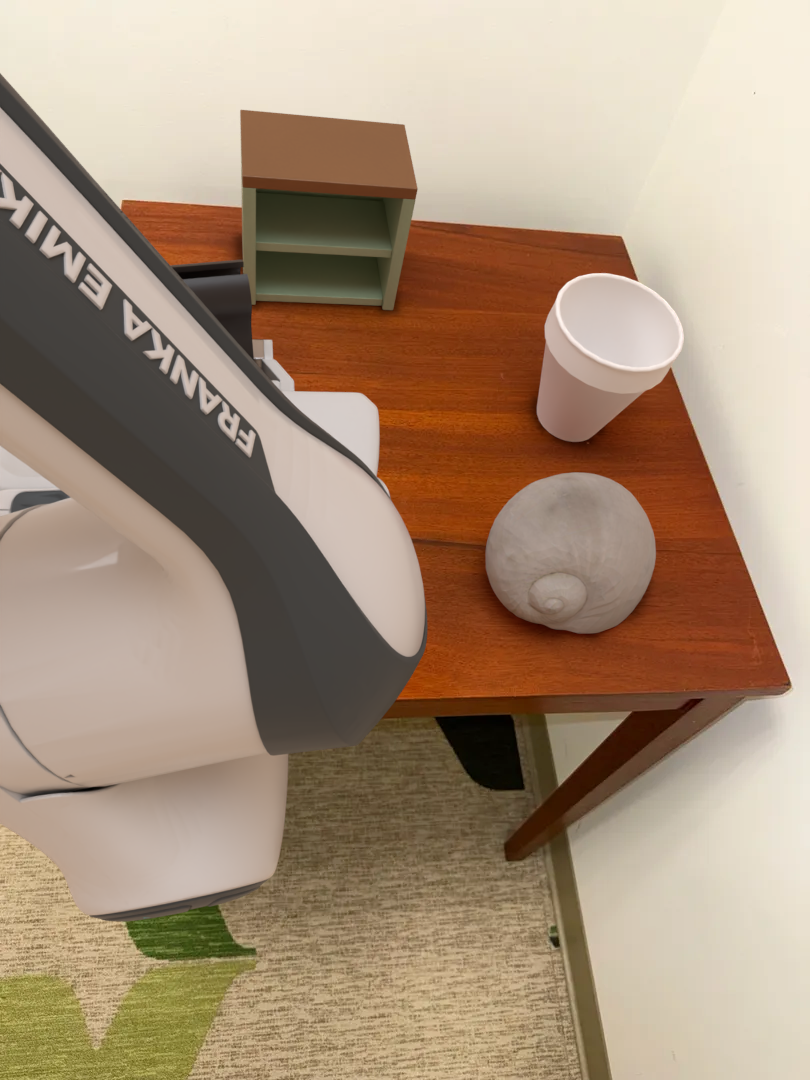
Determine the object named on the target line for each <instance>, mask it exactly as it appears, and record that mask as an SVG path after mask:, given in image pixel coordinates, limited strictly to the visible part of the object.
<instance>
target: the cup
mask: <svg viewBox="0 0 810 1080" xmlns="http://www.w3.org/2000/svg"><path fill="white" fill-rule="evenodd" d="M681 322H682V321H681V320H680V318H679V316H678V314H677V312H676V311H675V310H674V308H673V307H672V306H671V305H670V303H669V302H668V301H667V300H666V299H665V298H664V297H662V296H661V295H660V294H659V293H658V292H656V291H655V290H653V289H652V288H650V287H648V286H646V285H645V284H643V283H641V282H640V281H638V280H635V279H631V278H630V277H627V276H624V275H618V274H613V273H608V272H607V273H606V272H601V273H599V272H594V273H587V274H583V275H579V276H577V277H574V278H573V279H571V280H569V281H567V282H566V283H565V284H564V285H563V286H562V287H561V288H560V290H559V291H558V292H557V296H556V298H555V301H554V303H553V305H552V307H551V308H550V311H549V312H548V314H547V317H546V319H545V323H544V339H545V344H544V352H543V359H542V366H541V374H540V379H539V386H538V387H539V388H538V395H537V402H536V415H537V418H538V422H539V423H540V425H541V426H542V427H543V429H545V430H546V431H547V432H548V433H549V434H550V435H552V436H554V437H555V438H557V439H559V440H562V441H565V442H570V443H571V442H572V443H579V442H581V443H582V442H584V441H588V440H590V439H591V438H592V437H594V436H595V435H596V434H597V433H598V432H600V430H602V429H603V428H604V427H606V425H608V423H610V422H611V421H612V420H614V419H615V418H616V417H617V416H618V415H619V414H620V413H621V412H622V411H624V410H625V409H626V408H627V407H628V406H629V405H631V404H632V403H633V402H634V401H635V400H636V399H638V398H639V397H640V396H642V395H643V394H644V393H645V392H646V391H648V390H651V389H653V388H654V387H656V386H657V385H659V384H660V383H662V382H663V380H664V378H665V377H666V376H667V374H668V372H670V369H671V367H672V366H673V364H674V362H675V361H676V360H677V359H678V357H679V355H680V354H681V353H682V351H683V347H684V341H685V335H684V334H685V333H684V328H683V324H682V323H681Z"/></svg>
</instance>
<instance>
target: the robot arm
mask: <svg viewBox="0 0 810 1080" xmlns="http://www.w3.org/2000/svg"><path fill="white" fill-rule="evenodd" d="M170 265H171V264H170V263H169V262H168V261H167V260H166V259H165V258H164V256H162V254H161V253H160V252H159V251H158V250H157V249H156V247H155V246H153V244H152V243H151V241H149V239H148V238H146V236H145V235H144V234H143V233H142V231H141V230H140V229H139V228H138V227H137V226H136V224H135V223H133V221H132V220H131V219H130V218H129V217H128V215H126V214H125V213H124V211H123V210H122V209H121V208H120V207H119V206H118V204H117V203H115V201H114V200H113V199H112V198H111V196H110V195H109V194H108V193H107V192H106V191H105V190H104V189H103V188H102V186H100V184H99V183H98V182H97V181H96V180H95V179H94V177H93V176H92V175H91V174H90V173H89V172H88V171H87V169H86V168H85V167H84V166H83V165H82V164H81V162H80V161H78V159H77V158H76V157H75V155H73V153H72V152H71V151H70V150H69V149H68V148H67V146H66V145H65V144H64V143H63V142H62V141H61V140H60V138H58V136H57V135H56V134H55V133H54V131H53V130H52V129H51V128H50V127H49V126H48V124H47V123H45V121H44V120H43V119H42V118H41V117H40V115H39V114H38V113H36V111H35V110H34V109H33V108H32V106H30V104H29V103H28V102H27V101H26V100H25V99H24V98H23V97H22V96H21V94H20V93H19V92H18V91H17V90H16V89H15V88H14V87H13V86H12V84H11V83H10V82H9V81H8V80H7V79H6V78H5V77H4V75H3V74H2V73H1V72H0V825H1V826H2V827H4V828H6V829H8V830H9V831H11V832H13V833H14V834H16V835H18V836H19V837H20V838H22V839H23V840H25V841H26V842H28V843H29V844H30V845H31V846H33V847H34V848H36V849H37V850H39V851H40V852H41V853H42V854H44V855H45V856H46V857H47V858H48V859H49V860H50V861H51V862H53V863H54V864H55V866H56V867H57V868H58V869H59V870H60V873H61V874H62V876H63V878H64V880H65V882H66V885H67V888H68V890H69V893H70V896H71V898H72V900H73V902H74V904H75V906H76V907H77V909H78V910H79V911H80V912H81V913H83V914H85V916H88V917H90V918H93V919H99V920H102V921H106V922H122V923H123V922H124V923H125V922H134V921H136V922H137V921H142V920H150V919H155V918H156V919H157V918H162V917H166V916H173V915H179V914H183V913H187V912H189V911H191V910H195V909H199V908H200V909H201V908H204V907H209V908H210V907H215V906H218V905H223V904H225V903H229V902H232V901H236V900H238V899H241V898H243V897H246V896H248V895H250V894H251V893H253V892H255V891H257V890H259V889H260V888H261V886H262V885H263V884H265V883H266V882H267V881H269V880H270V878H272V877H273V875H274V874H275V872H276V871H277V867H278V863H279V859H280V856H281V855H280V854H281V851H282V850H281V849H282V843H283V837H284V829H285V822H286V812H287V811H286V810H287V798H288V783H289V755H290V754H298V753H299V754H300V753H306V752H307V753H308V752H313V751H314V752H315V751H322V750H332V749H340V748H341V749H342V748H348V747H349V748H350V747H356V746H359V744H361V743H362V741H364V739H365V738H366V737H367V736H368V735H369V734H370V732H372V730H373V729H374V728H375V726H377V724H379V722H380V721H381V720H382V719H383V717H384V716H385V715H386V714H387V712H388V711H389V709H391V707H392V706H393V705H394V704H395V702H396V700H397V699H398V698H399V696H400V695H401V693H402V692H403V691H404V689H405V687H406V686H407V684H408V683H409V681H410V679H411V678H412V676H413V675H414V673H415V671H416V669H417V667H418V665H419V664H420V661H421V660H422V658H423V656H424V655H425V654H424V653H425V651H426V647H427V641H428V609H427V603H426V597H425V589H424V583H423V578H422V577H423V576H422V571H421V567H420V563H419V559H418V556H417V552H416V549H415V546H414V543H413V540H412V538H411V535H410V533H409V532H410V531H409V530H408V528H407V526H406V523H405V522H404V520H403V518H402V516H401V514H400V512H399V511H398V509H397V507H396V506H395V504H394V502H393V501H392V498H391V493H390V490H389V489H388V487H387V485H386V484H385V482H384V481H383V480H382V479H381V478H380V477H378V470H379V463H380V462H379V460H380V446H381V445H380V442H381V441H380V440H381V435H380V433H381V432H380V431H381V430H380V415H379V409H378V407H377V405H376V404H375V403H374V402H372V400H371V399H370V398H368V397H367V396H366V395H365V394H364V393H362V392H355V391H354V392H353V391H346V392H345V391H309V390H308V391H305V390H304V391H301V390H295V380H294V379H293V378H292V376H290V374H289V373H288V372H287V371H286V369H284V367H283V366H282V365H281V364H280V363H279V362H278V361H277V360H276V359H274V349H273V348H274V347H273V345H274V344H273V339H260V338H259V339H257V338H256V339H255V338H252V343H253V355H254V360H253V359H252V358H251V357H250V356H249V355H248V354H247V353H246V351H245V350H244V349H243V348H242V347H241V346H240V345H239V344H238V343H237V342H236V340H235V339H234V338H233V337H232V336H231V335H230V334H229V332H228V331H227V330H226V329H225V328H224V327H223V326H222V324H221V323H220V322H219V321H218V320H217V319H216V318H215V316H214V315H213V314H212V313H211V312H210V311H209V309H208V308H207V307H206V306H205V305H204V304H203V303H202V301H201V300H200V299H199V298H198V297H197V296H196V295H195V293H194V292H193V291H192V290H191V289H190V288H189V287H188V285H187V284H186V283H185V282H184V281H183V280H182V278H181V277H180V276H179V275H178V274H177V273H176V272H175V270H174V269H173V268H172V267H171V266H170Z"/></svg>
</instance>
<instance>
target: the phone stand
mask: <svg viewBox="0 0 810 1080" xmlns="http://www.w3.org/2000/svg"><path fill="white" fill-rule="evenodd" d="M169 265H170V266H171V267H172V268H173V269H174V270H175V272H176V273H177V274H178V275H179V276H180V277H181V278H182V280H183V281H184V282H185V283H186V284H187V285H188V287H189V288H190V289H191V290H192V291H193V292H194V293H195V295H196V296H197V297H198V298H199V299H200V300H201V301H202V303H203V304H204V305H205V306H206V307H207V308H208V309H209V311H210V312H211V313H212V314H213V315H214V316H215V318H216V319H217V320H218V321H219V322H220V323H221V324H222V326H223V327H224V328H225V329H226V330H227V331H228V332H229V334H230V335H231V336H232V337H233V338H234V339H235V340H236V342H237V343H238V344H239V345H240V346H241V347H242V348H243V349H244V350H245V351H246V353H247V354H248V355H249V356H250V357H251V358H252V359H253V360H254V355H253V343H252V339H253V332H252V316H253V315H252V314H253V305H252V301H251V292H250V285H249V279H248V275H247V274H243V273H241V272H242V271H241V270H242V268H243V267H244V263H243V259H231V260H219V261H218V260H217V261H207V262H195V263H182V264H169Z"/></svg>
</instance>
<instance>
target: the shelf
mask: <svg viewBox="0 0 810 1080" xmlns="http://www.w3.org/2000/svg"><path fill="white" fill-rule="evenodd" d="M239 118H240V121H239V123H240V126H239V127H240V181H241V182H240V183H241V184H240V187H241V189H240V190H241V191H240V192H241V242H242V243H241V247H242V260H243V263H244V267H242V274H247V275H248V279H249V285H250V292H251V301H252V306H253V305H254V306H255V305H257V302H277V303H278V302H279V303H303V304H325V305H326V304H327V305H352V306H353V305H354V306H375V307H381V309H382V311H394V307H395V302H396V298H397V292H398V287H399V283H400V279H401V272H402V269H403V263H404V258H405V253H406V249H407V243H408V240H409V239H408V238H409V234H410V230H411V226H412V225H411V224H412V220H413V215H414V211H415V210H414V209H415V204H416V199H417V194H418V190H419V188H418V183H417V179H416V174H415V170H414V164H413V160H412V156H411V155H412V154H411V150H410V149H411V148H410V145H409V144H410V143H409V140H408V135H407V129H406V124H401V123H390V122H381V121H372V120H371V121H369V120H359V119H349V118H348V119H347V118H338V117H337V118H336V117H325V116H317V115H316V116H315V115H304V114H293V113H283V112H273V111H272V112H271V111H262V110H261V111H260V110H250V109H240V111H239Z"/></svg>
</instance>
